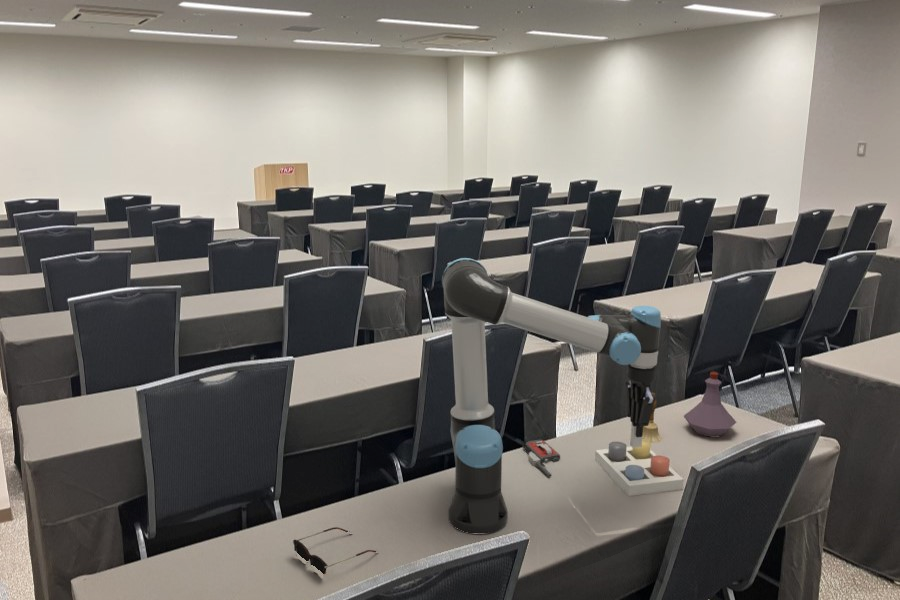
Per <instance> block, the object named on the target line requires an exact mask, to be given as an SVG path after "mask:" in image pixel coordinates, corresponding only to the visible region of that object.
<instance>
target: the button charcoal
mask: <svg viewBox="0 0 900 600" xmlns="http://www.w3.org/2000/svg"><path fill="white" fill-rule="evenodd" d="M627 447H628V446H627V443H625V442H622V441H612V442H609V443H608V449H609V452H608V458H609V459H610V460H611V461H615V462H623V461H625V460H626V449H627Z"/></svg>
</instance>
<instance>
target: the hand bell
mask: <svg viewBox="0 0 900 600" xmlns="http://www.w3.org/2000/svg"><path fill="white" fill-rule="evenodd" d="M650 393H651V395H652V396H655V397H656V392H650ZM656 408H657V399H656V400H655V402H654V404H653V408H652V412H651V416H650V421H649V425H648V426H643V436H642V439H644V440H647V441H649V442H650V444H652V443H653V444H655V443H660V442H661V441H662V437H661V436H660V434H659V426H658V424H656V423H655V422H654V420H655V417H654V416H655V414H654V413H655V411H656Z"/></svg>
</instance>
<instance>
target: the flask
mask: <svg viewBox="0 0 900 600" xmlns="http://www.w3.org/2000/svg"><path fill="white" fill-rule="evenodd" d="M718 377H719V373H718V372H716V371H710V372H709V378H707V379H705V380H704V382H705V384H706V389H705V392H704V394H703V397H702V399H701V401H700V402H699V403H697V405H695V406H694V407H693V408H692V409H690V410H689V411H688V412H686V413H685V414H684V415H683V419H685V421H686V422H687V423H688V425H689V426H690V427H691V428H692V430H693V429H694V430H695V431H696V432H697V433H698V434H697V433H696V432H695V431H694V430H693V431H694V432H695V433H696V434H697V435H699V434H701V435H700V436H703V435H705V436H704V437H706V436H720V437H721V436H723V435H724V434H725V433H726V432H728V430H730V428H732V427H734V425H735V424H737V423H738V422H737V420H736V419H735V418H734V417H733V416H732V415H731V414H730V413H729V412H728V410H727V409H726V408H725V406H724V405H723V403H722V401H721V400H722V399H721V396H720V386H721V385H722V381H721V379H720V380H719V379H718Z"/></svg>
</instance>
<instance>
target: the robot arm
mask: <svg viewBox="0 0 900 600" xmlns="http://www.w3.org/2000/svg"><path fill="white" fill-rule="evenodd" d="M444 269H445V270H444V271H443V273H442V276H441V284H442V285H441V286H442V288H443V301H444V314H445V315H446V316H447V317H448V318H449V319H450V322H451V338H452V339H451V340H452V357H453V358H452V359H453V376H454V397H455V405H454V406H453V407H451V409H450V427H449V428H450V430H449V433H450V437H451V441H452V447H453V453H454V455H453V456H454V463H455V469H454V470H455V472H454V473H455V477H454V478H455V481H454V483H455V490H454V494H453V496H452V499H451V502H450V504H449V507H448V522H449V521H450V522H449V523H451V524H452V525H453V526H454V527H456V528H458V529H460V530H462V531H464V532H463V533H465V532H468V533H467V534H470V533H488V534H492V533H495V532H497V531H500V530H501V529H503V528H505V526H506V525H507V523H508V519H509V518H508V514H509V513H508V507H507V504H506V502H505V499H504V495H503V492H502V473H503V472H502V470H503V467H502V463H503V461H502V458H503V450H504V446H503V439H502V437H501V434H500V433H499V432H498V431H497V430H496V425H495V408H494V407H493V405H491V404H490V403H489V397H488V396H489V395H488V391H489V389H488V371H487V348H486V323H487V324H488V323H489V324H491V325H495V326H497V325H499V324H501V323H503V324H505V325H508V326H509V325H510V326H513V327H515V328H518V329H521V330H525V331H528V332H531V333H534V334H537V335H540V336H543V337H546V338H549V339H553V340H557V341H559V342H562V343H566V344H568V345H572V346H575V347H578V348H581V349H583V350H588V351H590V352H594V353H597V354H600V355H602V356H606V357H609V358H611V360H612V361H613V362H615V363H617V364H618V365H621V366H627V367H626V368H627V369H626V371H627V372H626V377H627V378H628V379H629V380H627V381H625V382H624V383H625V389H626V406H627V407H626V410H627V418H630V419H629V420H630V422H631V428H630V439H629V440H630V441H629V447H630V446H631V447H632V448H634V447H642V436H643V426H648V425H649V421H650V416H651V412H652V408H653V404H654V402H655V400H656V401H657V397H656V395H655V396H652V395H651V393H652V392H651V391H652V387H651V386H652V383H653V382H654V381H656V379H657V370H658V369H657V368H658V367H657V364H658V356H659V341H660V333H661V327H662V326H661V323H662V321H661V318H662V316H661V310H660V309H658V308H657V307H655V306H650V305H635V306H633V307H632V309H631V312H630V314H625V315H624V314H621V315H619V314H603V315H602V314H596V315H588V316H585V315H581V314H578V313H576V312H573V311H569V310H567V309H563V308H560V307H557V306H554V305H551V304H548V303H546V302H541V301H539V300H536V299H533V298H529V297H527V296H524V295H520V294H517V293H514V292H512V291H511V289H510V287H509V286H507V285H504V284H501V283H499V282H497V281H495V280H493V279H492V278H491V277H489V276H488V272H487V269H486V268H485V266H484V265H482V264H481V263H480V261H478V260H476V259H473V258H469V257H468V258H467V257H460V258H458V259H455V260H453V261H452V262H450V263H449V264H448V265H447V266H446V267H445V268H444ZM451 524H450V525H451ZM452 525H451V526H452ZM453 526H452V527H453ZM454 527H453V528H454ZM456 528H455V529H456ZM458 529H457V530H458ZM460 530H459V531H460ZM462 531H461V532H462Z"/></svg>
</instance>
